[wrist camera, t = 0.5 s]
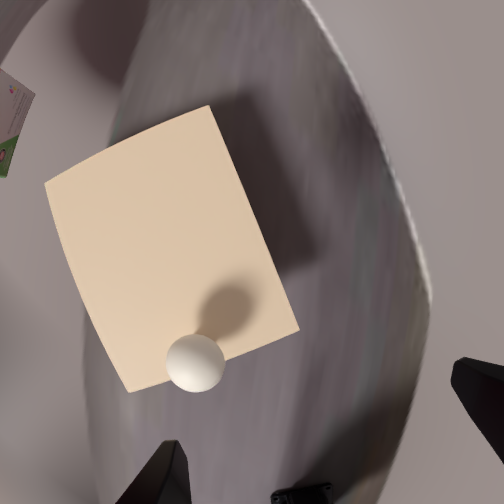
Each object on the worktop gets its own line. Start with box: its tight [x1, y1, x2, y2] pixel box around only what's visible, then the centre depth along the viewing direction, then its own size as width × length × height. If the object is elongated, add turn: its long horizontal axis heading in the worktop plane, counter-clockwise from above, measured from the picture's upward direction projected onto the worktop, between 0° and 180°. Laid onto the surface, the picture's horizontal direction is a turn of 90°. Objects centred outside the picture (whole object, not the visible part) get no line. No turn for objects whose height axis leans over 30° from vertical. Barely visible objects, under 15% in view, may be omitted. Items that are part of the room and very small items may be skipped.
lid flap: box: [44, 105, 299, 393], centre depth 16 cm, size 14×12×5 cm
